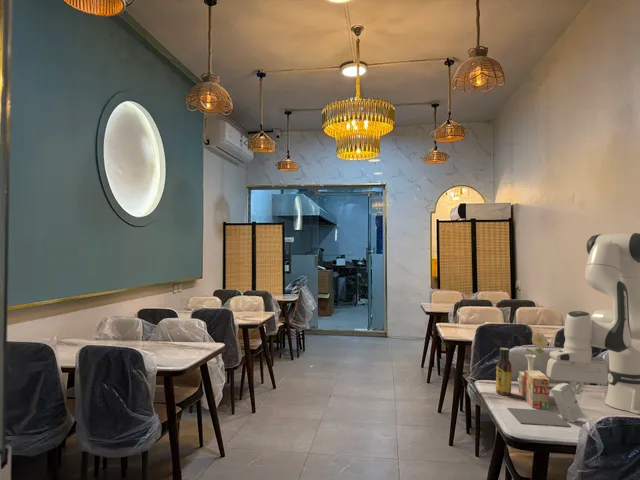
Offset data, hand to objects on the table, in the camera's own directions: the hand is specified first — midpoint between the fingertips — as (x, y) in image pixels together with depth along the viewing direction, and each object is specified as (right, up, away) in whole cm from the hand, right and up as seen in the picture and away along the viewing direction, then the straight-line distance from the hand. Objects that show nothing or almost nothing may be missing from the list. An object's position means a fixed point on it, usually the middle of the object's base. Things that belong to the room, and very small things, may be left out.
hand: (576, 393), depth 155 cm
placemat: (-13, -10, +3) cm, 17 cm away
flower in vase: (+6, -12, +45) cm, 47 cm away
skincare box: (-1, -9, +1) cm, 9 cm away
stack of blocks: (-4, -12, +23) cm, 26 cm away
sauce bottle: (-14, -11, +30) cm, 35 cm away
